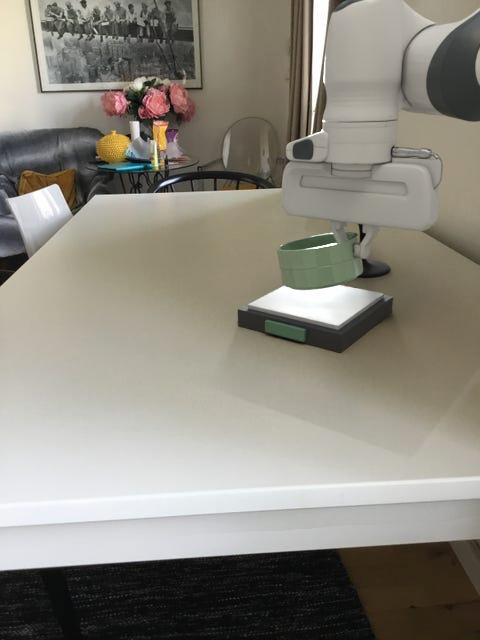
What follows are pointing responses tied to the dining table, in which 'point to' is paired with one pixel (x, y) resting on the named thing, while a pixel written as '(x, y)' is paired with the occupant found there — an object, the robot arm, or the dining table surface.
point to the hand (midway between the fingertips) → (353, 256)
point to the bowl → (319, 262)
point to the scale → (317, 315)
